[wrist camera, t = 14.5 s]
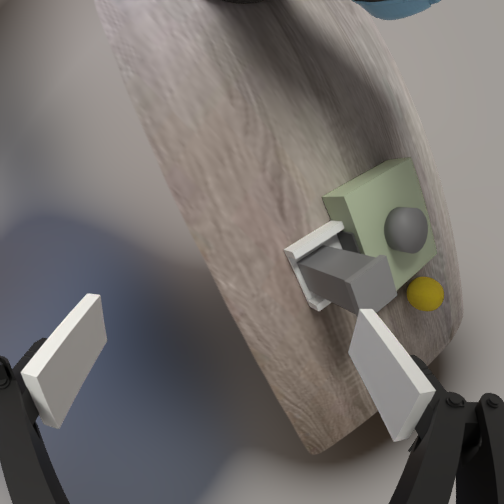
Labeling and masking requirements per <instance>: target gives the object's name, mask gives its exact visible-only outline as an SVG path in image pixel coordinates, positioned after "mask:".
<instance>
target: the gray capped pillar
mask: <svg viewBox="0 0 504 504" xmlns="http://www.w3.org/2000/svg"><path fill="white" fill-rule="evenodd" d="M296 263H297V265H298V267H299V269H300V272H301V274H302V276H303V278H304V281H305V283H306V285H307V287H308V290H309V291H310V292H312V293H314V294H316V295H318V296H320V297H322V298H324V299H326V300H328V301H330V302H332V303H334V304H336V305H338V306H340V307H342V308H344V309H346V310H348V311H350V312H352V313H354V314H356V315H357V317H358V313H359V309H373V310H374V311H375V313H377V312H378V311H379V310H381V309H382V308H383V307H384V306H385V305H386V304H388V303H389V302H390V301H391V300H392V299H393V298H395V297H396V296H397V291H396V288H395V284H394V280H393V277H392V273H391V269H390V266H389V263H388V259H387V256H385V255H381V254H380V255H379V256H377V257H372V256H368V255H363V254H359V253H355V252H351V251H346V250H342V249H338V248H334V247H329V246H325V245H323V246H321V247H319V248H318V249H316V250H315V251H313V252H312V253H310V254H309V255H307V256H305V257H304V258H302V259H301V260H299V261H298V262H296Z"/></svg>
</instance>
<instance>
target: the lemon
mask: <svg viewBox="0 0 504 504" xmlns="http://www.w3.org/2000/svg"><path fill="white" fill-rule="evenodd" d="M407 299H408V301H409V303H410V304H411V305H412V306H413V307H415V308H416V309H418V310H422V311H433V310H435V309H437V308H438V307H439V306H440V305H441V304H442V302H443V300H444V291H443V288H442V286H441V285H440V283H438V282H437V281H436V280H434V279H432V278H429V277H418V278H415V279H414V280H412V281H411V283H410V284H409V285H408V288H407Z"/></svg>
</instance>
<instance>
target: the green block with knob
mask: <svg viewBox="0 0 504 504" xmlns="http://www.w3.org/2000/svg"><path fill="white" fill-rule="evenodd" d="M322 199H323V201H324V204H325V206H326V208H327V211H328V213H329V216H330V218H331V221H329V222H328V223H326V224H324V225H323V226H321V227H320V228H318V229H316V230H315V231H313V232H311V233H310V234H308V235H307V236H305V237H303V238H302V239H300V240H298V241H297V242H295V243H293V244H292V245H290V246H289V247H287V248H285V249H284V251H285V254H286V256H287V258H288V260H289V262H290V264H291V267H292V269H293V271H294V273H295V275H296V278H297V280H298V282H299V284H300V286H301V289H302V291H303V293H304V295H305V298H306V300H307V302H308V304H309V306H310V307H312V308H313V309H315V310H317V311H318V312H319V311H320V310H322V309H323V308H325V307H326V306H327V305H329V304H330V303H332V302H330V301H328V300H326V299H324V298H322V297H320V296H318V295H316V294H314V293H312V292H310V291H309V290H308V287H307V285H306V283H305V281H304V278H303V276H302V274H301V272H300V269H299V267H298V265H297V263H296V262H298V261H299V260H301V259H302V258H304V257H305V256H307V255H309V254H310V253H312V252H313V251H315V250H316V249H318V248H319V247H321V246H323V245H325V246H329V247H334V248H338V249H342V250H346V251H351V252H355V253H359V254H363V255H368V256H372V257H377V256H379V255H380V254H381V255H385V256H387V259H388V263H389V266H390V269H391V273H392V277H393V280H394V284H395V288H396V290H398V289H399V288H400V287H401V286H402V285H403V284H404V283H406V282H407V281H408V280H409V279H410V278H411V277H412V276H413V275H415V274H416V273H417V272H418V271H419V270H420V269H421V268H422V267H423V266H424V265H425V264H426V263H428V262H429V261H430V260H431V259H432V258H433V257H434V256H435V255H436V254H437V250H436V245H435V241H434V237H433V232H432V228H431V224H430V220H429V216H428V212H427V208H426V205H425V201H424V198H423V194H422V191H421V187H420V184H419V181H418V178H417V174H416V171H415V168H414V165H413V162H412V159H411V157H408V158H399V159H391V160H387V161H385V162H383V163H381V164H379V165H378V166H376V167H374V168H372V169H370V170H369V171H367V172H365V173H363V174H361V175H360V176H358V177H356V178H354V179H352V180H351V181H349V182H347V183H345V184H344V185H342V186H340V187H338V188H336V189H335V190H333V191H331V192H329V193H328V194H326V195H324V196H322Z"/></svg>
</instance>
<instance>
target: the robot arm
mask: <svg viewBox="0 0 504 504" xmlns="http://www.w3.org/2000/svg"><path fill="white" fill-rule="evenodd" d="M224 1H229V2H235V3H253V2H259V1H263V0H224ZM352 1H353V2H355V3H357V4H359V5H360V6H361V7H363V8H364V9H365V10H366V11H367V12H369V13H370V14H371V15H372V16H374V17H376V18H380V19H383V20H396V19H401V18H405V17H408V16H411V15H414V14H416V13H419V12H421V11H424V10H426V9H427V8H429V7H430V6H431V4H434V3H438V2H439V1H441V0H352ZM106 342H107V337H106V331H105V325H104V318H103V311H102V304H101V297H100V295H95V294H86V296H85V297H84V298H83V299H82V300H81V301H80V302H79V303H78V305H76V307H75V308H74V309H73V310H72V311H71V312H70V313H69V315H68V316H67V317H66V318H65V319H64V320H63V321H62V323H61V324H60V325H59V326H58V327H57V328H56V329H55V331H54V332H53V333H52V334H51V335H50V337H49V338H48V339H47V338H42V339H40V340H39V341H37V342H35V343H34V344H33V345H32V346H31V347H30V349H29V351H27V352H26V353H25V354H24V356H23V357H22V358H21V359H20V361H19V362H18V363H17V364H16V365H15V367H14V368H13V369H12V368H11V366H10V363H9V361H8V359H7V358H5V357H3V356H0V462H1V466H2V470H3V473H4V477H5V481H6V484H7V487H8V491H9V494H10V497H11V500H12V503H13V504H70V503H69V501H68V499H67V497H66V495H65V493H64V491H63V489H62V486H61V484H60V482H59V480H58V478H57V475H56V473H55V471H54V468H53V466H52V464H51V461H50V458H49V456H48V453H47V450H46V448H45V445H44V442H43V439H42V437H41V434H40V431H39V428H38V425H37V423H36V419H37V417H38V415H39V416H40V418H41V420H42V422H43V424H45V425H48V426H51V427H54V428H58V429H59V428H60V426H61V424H62V422H63V420H64V418H65V416H66V415H67V412H68V411H69V409H70V407H71V405H72V403H73V401H74V399H75V397H76V395H77V393H78V392H79V390H80V388H81V386H82V384H83V382H84V381H85V379H86V377H87V375H88V373H89V372H90V370H91V368H92V366H93V364H94V363H95V361H96V359H97V357H98V356H99V354H100V352H101V350H102V349H103V347H104V345H105V343H106ZM348 353H349V355H350V357H351V359H352V361H353V363H354V365H355V367H356V369H357V370H358V372H359V374H360V376H361V378H362V380H363V382H364V384H365V386H366V388H367V390H368V392H369V394H370V395H371V397H372V399H373V401H374V403H375V405H376V407H377V409H378V411H379V413H380V415H381V417H382V419H383V421H384V423H385V425H386V427H387V429H388V431H389V433H390V435H391V437H392V439H393V441H394V442H395V441H400V440H404V439H408V438H409V437H410V436H411V434H412V432H413V431H414V429H415V430H416V431H417V433H418V436H417V438H416V440H415V441H414V443H413V444H412V446H411V447H410V449H409V450H408V451H409V452H410V451H411V453H410V455H409V458H408V461H407V463H406V466H405V468H404V471H403V473H402V476H401V478H400V480H399V483H398V485H397V487H396V489H395V492H394V494H393V496H392V498H391V500H390V502H389V504H448V502H449V499H450V496H451V492H452V488H453V484H454V480H455V476H456V504H504V402H503V400H502V399H501V398H500V397H499V396H497V395H495V394H492V393H485V394H484V395H483V396H482V397H481V399H480V400H479V402H466V400H465V399H464V398H463V397H462V396H461V395H459V394H457V393H454V392H447V391H446V390H445V389H444V388H443V386H442V385H441V384H440V382H439V381H438V380H437V379H436V377H435V376H434V375H432V372H431V371H430V370H429V369H428V367H427V366H426V364H425V363H424V362H423V361H422V360H421V359H419V358H418V357H416V356H415V355H409V354H408V353H407V352H406V350H405V349H404V348H403V346H402V345H401V344H400V343H399V341H398V340H397V339H396V338H395V336H394V335H393V334H392V332H391V331H390V330H389V329H388V327H387V326H386V325H385V324H384V323H383V321H382V320H381V319H380V318H379V316H378V315H377V314H376V313H375V311H374V310H373V309H359V313H358V317H357V321H356V325H355V329H354V333H353V337H352V340H351V344H350V347H349V351H348Z"/></svg>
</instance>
